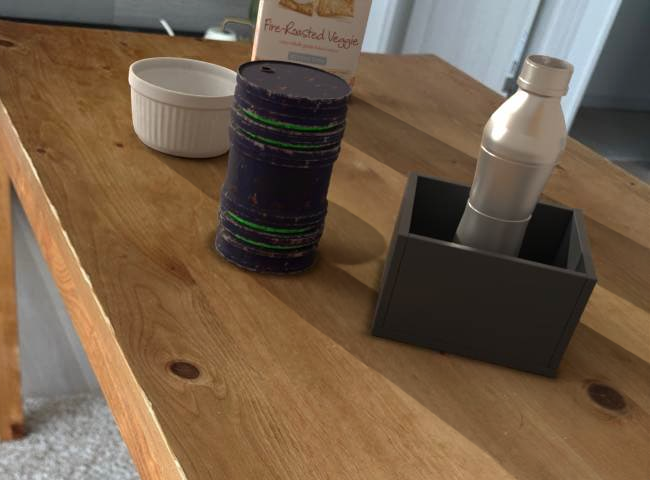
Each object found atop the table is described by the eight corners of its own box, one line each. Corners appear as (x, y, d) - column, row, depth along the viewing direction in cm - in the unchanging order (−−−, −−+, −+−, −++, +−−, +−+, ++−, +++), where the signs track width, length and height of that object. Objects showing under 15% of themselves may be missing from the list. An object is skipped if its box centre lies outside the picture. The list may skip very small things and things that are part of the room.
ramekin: (102, 126, 99) (104, 59, 95) (191, 114, 107) (198, 52, 102) (174, 171, 93) (180, 101, 88) (264, 155, 100) (274, 90, 96)
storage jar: (336, 254, 84) (374, 87, 74) (282, 286, 77) (316, 108, 67) (251, 217, 87) (276, 53, 77) (192, 245, 81) (211, 70, 71)
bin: (544, 299, 83) (582, 209, 77) (553, 377, 73) (598, 280, 67) (384, 262, 84) (409, 170, 78) (370, 334, 73) (398, 234, 67)
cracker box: (250, 89, 118) (276, -100, 103) (248, 75, 122) (273, -108, 108) (351, 104, 119) (391, -80, 105) (346, 90, 124) (383, -88, 110)
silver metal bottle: (413, 298, 78) (488, 50, 64) (460, 283, 81) (541, 46, 68) (468, 333, 74) (560, 79, 61) (515, 315, 78) (611, 73, 65)
